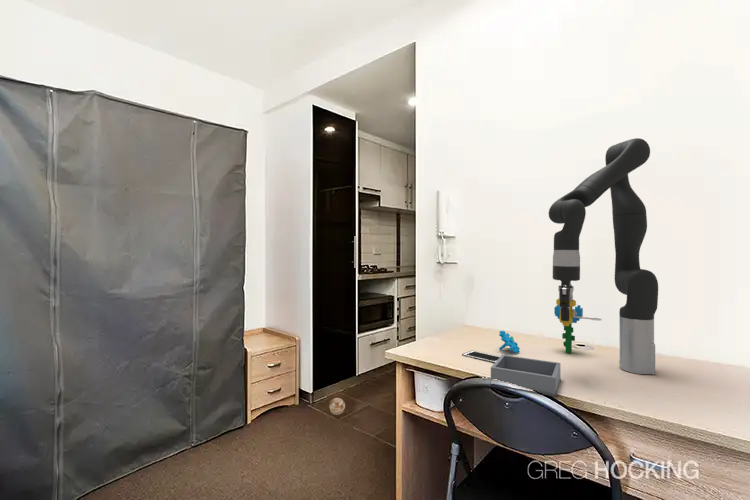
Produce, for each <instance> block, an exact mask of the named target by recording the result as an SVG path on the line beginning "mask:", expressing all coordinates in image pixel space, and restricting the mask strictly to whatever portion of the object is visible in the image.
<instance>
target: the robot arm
mask: <svg viewBox="0 0 750 500" xmlns="http://www.w3.org/2000/svg"><path fill="white" fill-rule="evenodd" d="M650 155H651V148H650V145H649V143H648V142H647V141H646V140H644V139H643V138H636V137H635V138H631V139H628V140H625V141H622V142H619V143H616V144H613V145H611V146H609V148H607V150H606V152H605V166H603V167H602V168H600V169H598V170H597V171H595V172H594V173H592V174H590V175H589V176H588V177H586V178H584V180H583V181H582V182H580V183H579V184H578V185H577V186H576V187H575V188H573V190H571V191H570V192H568V193H566V194H565V195H563V196H562V197H560V198H558V199H557V200H556V201H554V202H553V203H552V204H551V206H550V207H549V209H548V218H549V220H550V221H551V222H553V223H555V224H559V225H560V224H561V225H562V224H563V226H562V229H561V230H559V231H556V232H555V233H554V235H553V254H552V280H555V281H560V284H561V285H558V299H559V300H560V304H559V306H560V308H561V320H562V321H569V309H570V302H571V301H572V299H573V300H574V295H573V293H574V290H575V289H574V285H572V283H571V282H578V281H580V280H581V255H580V236H581V233H582V230H583V226H584V223H585V220H586V214H587V213H586V212H587V211H586V210H587V209H586V208H587V207H589V206H591V205H593V204H594V202H596V201H597V200H598V199H600V198H601V196H602V195H603V194H605V193H606V192H607V191H608V190H609V189H610V199H611V209H612V210H611V211H612V212H611V213H612V214H611V215H612V227H613V238H614V249H615V250H614V251H615V261H614V262H615V264H614V284H615V287H616V290H618V291H619V292H620V293H621V294H622V295H625V296H626V301H625V302H626V303H625V304H624V305H623V306H621V307H620V308H619V311H618V313H619V317H618V319H619V323H618V324H619V363H618V364H619V368H620V369H621V370H623V371H626V372H627V373H632V374H638V375H639V374H640V375H656V344H655V314H656V313H657V310H658V305H659V304H658V302H659V282H658V278H657V277H656V275H655V273H653V272H652V271H650V270H647V269H643V268H641V266H640V265H641V263H640V251H641V246H642V244H643V241H644V239H645V236H646V233H647V229H648V217H647V207H646V206H645V203H644V202H643V200H642V198H640V197H639V196H638V194H637V193H636V192H635V191H634V189H633V188H632V185H631V184H630V179H629V174H630V173H631V172H634V171H635V170H636V169H638V168H639V167H641V166H642V165H644V164H646V162H648V160H649V159H650V157H651V156H650ZM563 301H567V303H563Z"/></svg>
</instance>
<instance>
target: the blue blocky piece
mask: <svg viewBox="0 0 750 500" xmlns="http://www.w3.org/2000/svg"><path fill="white" fill-rule="evenodd" d="M498 335H499V336H500V339H501V342H502V341H503V342H504V343H503V344H502V345H501V346H500V347H499V350H500V351H502V350H503V349H505V347H509V350H510V351H511V352H514V354H519V353H520V352H521V351H520V347H519V344H518V342H516V341H515V338H514V336H513V335H511V336H510V334H509V332H506V331H505V330H500V331H499V334H498Z"/></svg>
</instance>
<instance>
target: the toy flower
mask: <svg viewBox="0 0 750 500" xmlns="http://www.w3.org/2000/svg"><path fill="white" fill-rule="evenodd" d="M555 305H556V306H554V316H555V317H557V319H559V318H560V310H561V308H560V306H559V305H557V304H555ZM572 310H573V311H574V310H576V312H577V315H576V316H579V317H584V316H583V314H584V308H583V307H582V306H581V305H579V304H576V306H574V308H573V309H572ZM572 319H573V322H572V323H571V324H569V326H563V331H564V332H563V333H562V334H561V337H562V339H563V340H565V341H563V342H562V343H563V345H562V346H563V347H565V354H572V352H573V351H572V350H573V346H572V345H573V342H575V341H576V336H575V335H572V334H573V333H574V327H572V325H573V324H577V323H578V322H579V321H580V320H581V319H582V318H574V317H572ZM572 341H573V342H572Z"/></svg>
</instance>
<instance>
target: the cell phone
mask: <svg viewBox="0 0 750 500" xmlns="http://www.w3.org/2000/svg"><path fill="white" fill-rule="evenodd" d="M461 355H462V356H463V357H465V358H470V359H475V360H479V361H482V362H487V363H491V364H494V363H495V362H496V361H497V360H498V359H499V358H500V356H501V355H495V354H491V353H487V352H482V351H477V350H469V351H467V352H463V353H462V354H461Z"/></svg>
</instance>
